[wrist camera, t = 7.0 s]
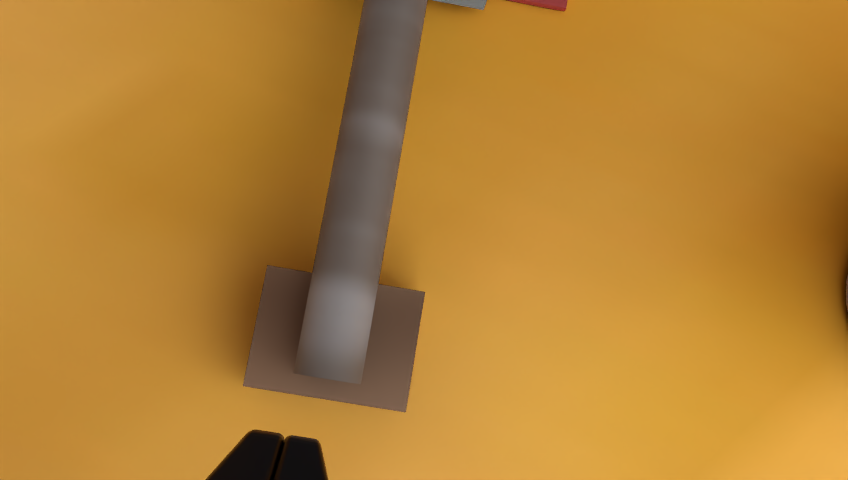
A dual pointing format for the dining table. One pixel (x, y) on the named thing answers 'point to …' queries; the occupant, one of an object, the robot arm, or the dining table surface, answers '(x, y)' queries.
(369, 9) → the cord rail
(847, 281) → the travel mug
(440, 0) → the sleeve
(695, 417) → the dining table surface
